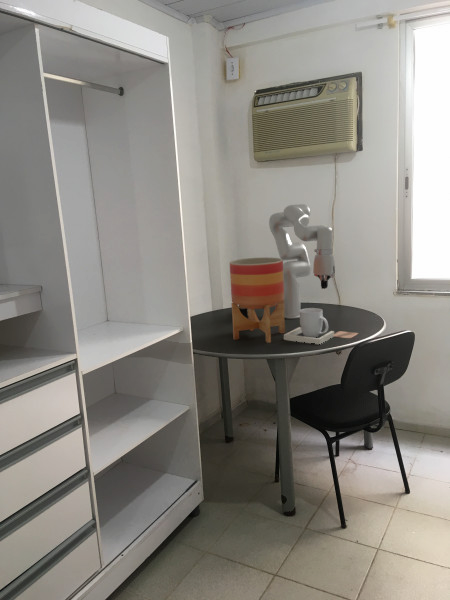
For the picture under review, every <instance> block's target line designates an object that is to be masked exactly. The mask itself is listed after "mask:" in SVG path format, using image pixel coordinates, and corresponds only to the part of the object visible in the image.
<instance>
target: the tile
mask: <svg viewBox="0 0 450 600" xmlns="http://www.w3.org/2000/svg"><path fill="white" fill-rule="evenodd" d="M358 334H360V333H359V332H351V331H342V330H339V331H337V332H334V337H333V338H335V337H336V338H342V339H352V338H354V337H355V336H357V335H358Z"/></svg>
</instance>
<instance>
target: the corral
mask: <svg viewBox="0 0 450 600" xmlns="http://www.w3.org/2000/svg"><path fill="white" fill-rule="evenodd" d="M300 334H303V333H302V330H301V327H300V326H298V327H296V328H294V329H293V330H291V331H289V332H285V333H283V340H284V341H291V342H296V341H297V343H298V342H299V343H304V342H305V344H311V343H315V344H314V345H319V344H320V345H322V344H324V343H326V342H328V341H329V340H331V339H332V338H335V337H334V334H335V331H334V330H330V331H328V332H326V333H324V334H322V335H321V336H320V337H317V338H313V337H305V336H304V335H300ZM330 338H331V339H330ZM325 341H326V342H325ZM323 342H324V343H323ZM321 343H322V344H321Z"/></svg>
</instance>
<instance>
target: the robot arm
mask: <svg viewBox="0 0 450 600" xmlns="http://www.w3.org/2000/svg"><path fill="white" fill-rule="evenodd" d="M310 216H311V210H310V207H309V205H307V204H304V203H302V204H301V203H300V204H290V205H287V206H286V207H285V208H284V210H283V212H281V211H280V212H274V213H272V214H271V215H270V217H269V220H268V225H269V229H270V232H271V234H272V236H273V238H274V241H275V245H276V248H277V252H278V255H279V257H280V259H282V260H283V261H286V262H283V279H284V319H300V312H299V311H300V310H301V308H302V307H301V305H302V304H301V285H300V283H299V282H298V279H299V278H306V277H308V276H310V275H311V273H312V270H313V274H314V276H315V277H316V278H318V279H319V280H320V288H321V289H322V290H323V289H324V290H325V289H328V287H329V286H328V285H329V283H328V282H329V280H330V279H332V278H335V277H336V276H335V273H336V262H335V261H336V260H335V255H334V254H333V229H332V227H330V226H326V225H322V224H321V225H309V224H310ZM308 225H309V226H308ZM291 227H292V228H293V232H294V234H295V236H296V237H297V238H298V239H299V240H300V241H303V242H315V241H316V249H314V252H315V254H314V259H313V269H312V264H311V262H310V261H311V260H310V257H309V253H308V250H307V248H306V245H304V243H302V242H292V240H291V237H290V234H289V233H288V232H287V230H285V229H284V228H291Z"/></svg>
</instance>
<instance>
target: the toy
mask: <svg viewBox="0 0 450 600" xmlns="http://www.w3.org/2000/svg"><path fill="white" fill-rule="evenodd" d="M238 307H239V306H238ZM239 310H240V312H241V313H242V315H243V316H244V317H246V318H247V319H249V315H248V309H247V308H242V307H239Z"/></svg>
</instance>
